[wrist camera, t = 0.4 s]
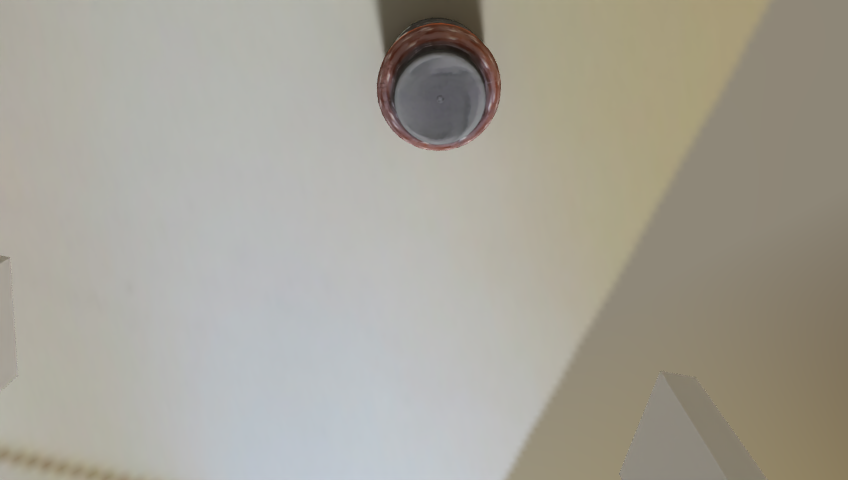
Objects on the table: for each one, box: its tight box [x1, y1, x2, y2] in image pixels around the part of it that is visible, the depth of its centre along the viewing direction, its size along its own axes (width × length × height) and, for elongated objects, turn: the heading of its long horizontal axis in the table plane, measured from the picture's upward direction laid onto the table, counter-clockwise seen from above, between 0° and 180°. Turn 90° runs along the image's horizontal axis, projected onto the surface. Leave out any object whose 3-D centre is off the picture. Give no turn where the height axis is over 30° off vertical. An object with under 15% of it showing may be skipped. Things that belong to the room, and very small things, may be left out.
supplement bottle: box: [377, 18, 501, 151], centre depth 31 cm, size 6×6×11 cm
